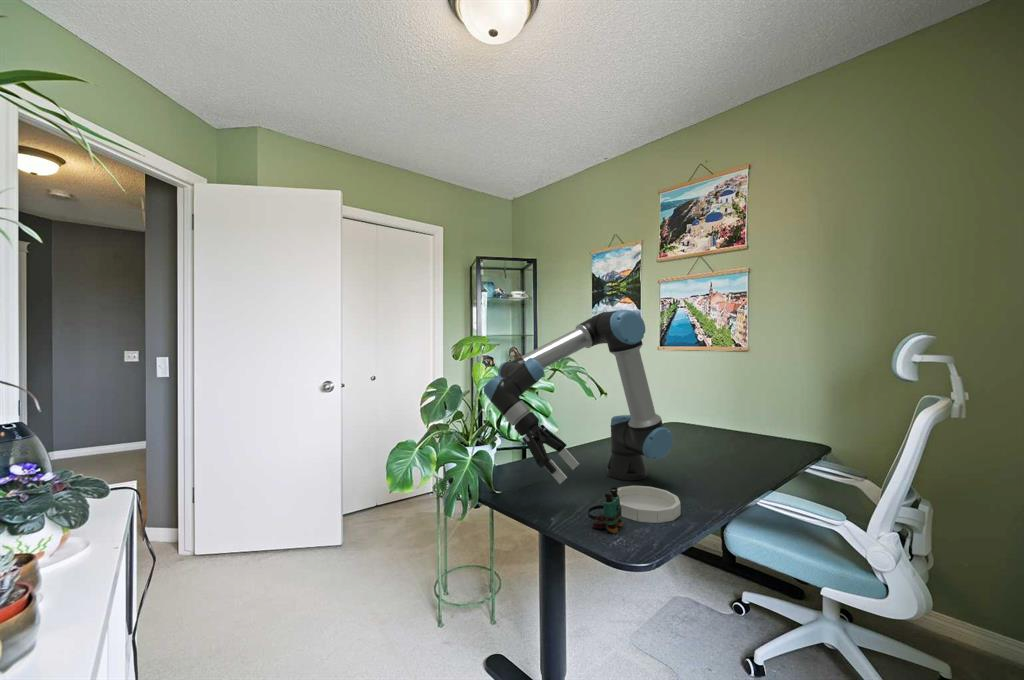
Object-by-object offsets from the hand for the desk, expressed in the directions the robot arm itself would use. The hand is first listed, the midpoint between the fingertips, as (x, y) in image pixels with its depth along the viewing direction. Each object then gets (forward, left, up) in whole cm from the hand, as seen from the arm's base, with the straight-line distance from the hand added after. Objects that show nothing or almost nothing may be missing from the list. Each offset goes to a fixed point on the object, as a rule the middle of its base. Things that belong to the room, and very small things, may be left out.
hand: (570, 473), depth 123 cm
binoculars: (+9, +4, -14) cm, 17 cm away
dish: (+12, +23, -14) cm, 29 cm away
